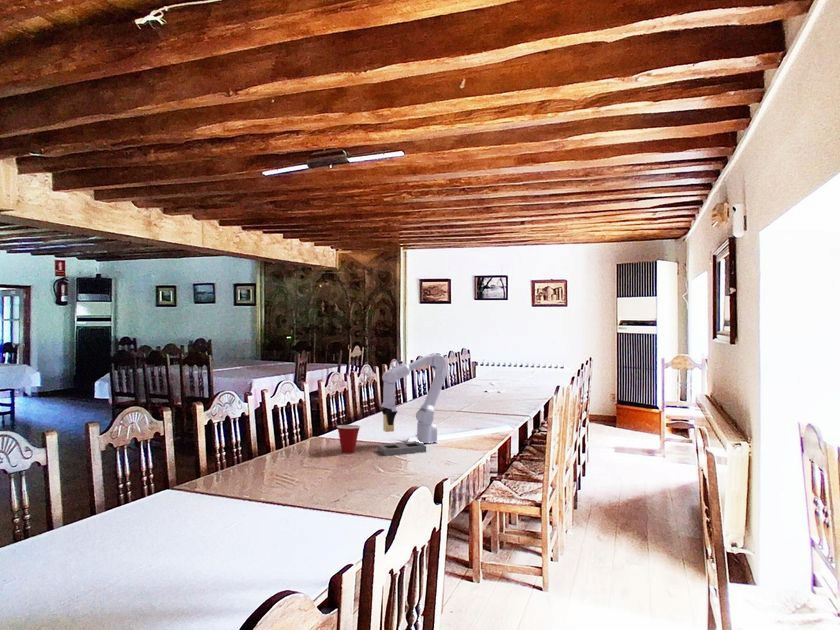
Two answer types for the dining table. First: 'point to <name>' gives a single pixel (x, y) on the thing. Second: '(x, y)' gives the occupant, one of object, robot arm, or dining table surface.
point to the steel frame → (401, 448)
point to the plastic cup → (348, 437)
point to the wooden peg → (385, 424)
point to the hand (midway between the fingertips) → (388, 424)
